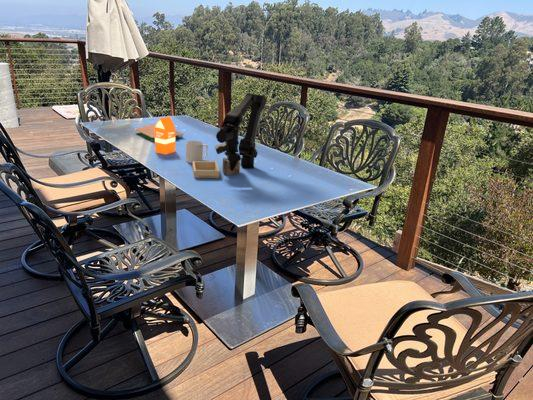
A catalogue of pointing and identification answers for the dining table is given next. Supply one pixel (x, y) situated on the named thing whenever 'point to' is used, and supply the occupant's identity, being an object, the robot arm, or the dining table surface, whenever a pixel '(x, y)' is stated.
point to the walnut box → (227, 167)
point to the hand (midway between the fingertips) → (231, 168)
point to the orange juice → (165, 136)
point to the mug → (195, 151)
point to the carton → (206, 169)
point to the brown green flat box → (153, 131)
